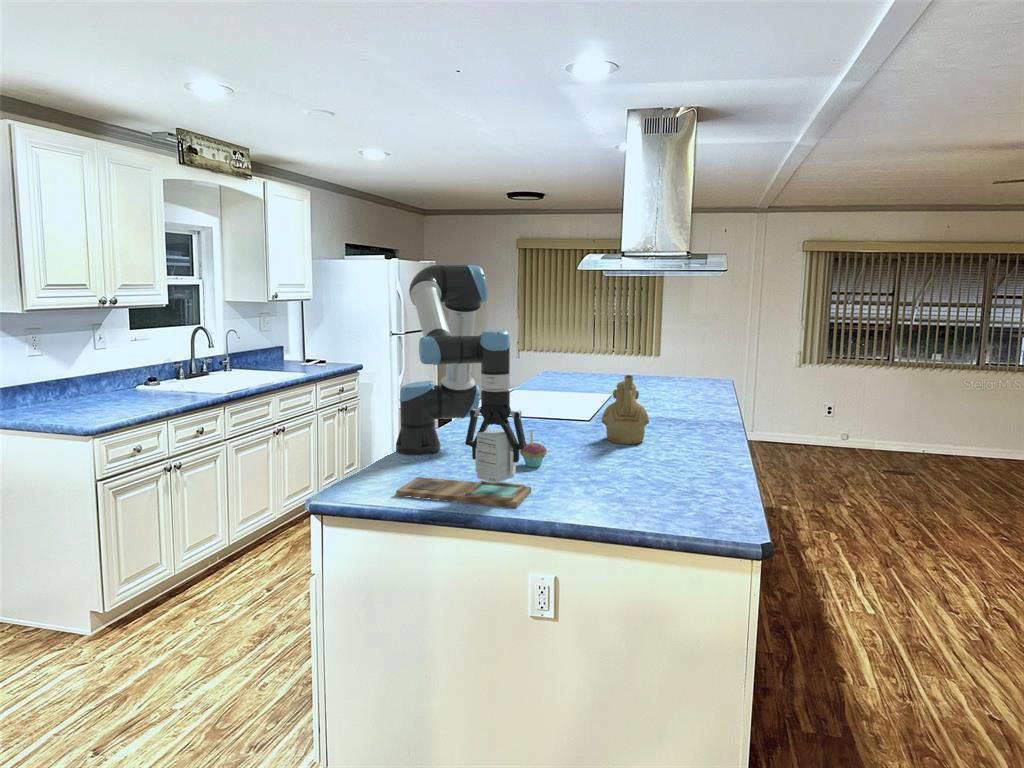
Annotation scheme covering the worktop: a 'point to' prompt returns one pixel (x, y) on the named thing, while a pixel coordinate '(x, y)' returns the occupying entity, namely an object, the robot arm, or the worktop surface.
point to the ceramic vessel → (625, 415)
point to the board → (467, 491)
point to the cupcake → (533, 453)
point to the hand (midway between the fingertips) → (495, 472)
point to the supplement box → (493, 455)
